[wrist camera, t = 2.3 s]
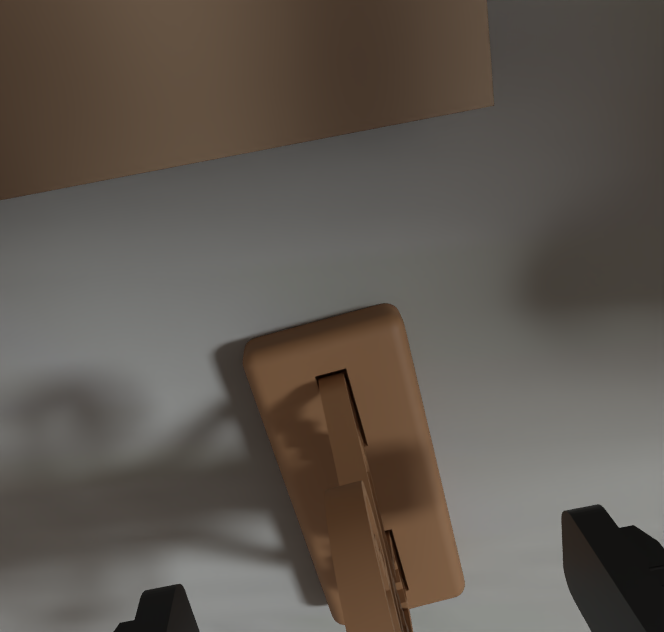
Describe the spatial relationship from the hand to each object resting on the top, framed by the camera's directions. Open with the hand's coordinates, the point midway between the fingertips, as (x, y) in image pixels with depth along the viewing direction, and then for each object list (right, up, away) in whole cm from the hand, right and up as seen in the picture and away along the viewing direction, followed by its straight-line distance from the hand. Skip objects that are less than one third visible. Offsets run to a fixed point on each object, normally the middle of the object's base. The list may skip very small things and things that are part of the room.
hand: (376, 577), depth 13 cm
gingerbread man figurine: (0, +1, +4) cm, 4 cm away
